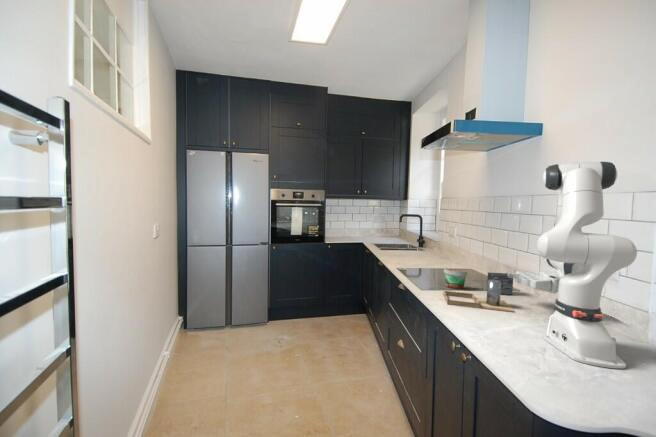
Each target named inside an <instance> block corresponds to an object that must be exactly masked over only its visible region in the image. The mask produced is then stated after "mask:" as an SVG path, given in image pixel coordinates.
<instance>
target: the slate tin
mask: <svg viewBox="0 0 656 437" xmlns="http://www.w3.org/2000/svg"><path fill="white" fill-rule="evenodd" d="M500 294H501V282H500V281H497V280H488V285H487V284H486V298H485V299H486V304H488V305H491V306H500V300H501V295H500Z"/></svg>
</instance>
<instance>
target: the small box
mask: <svg viewBox="0 0 656 437" xmlns="http://www.w3.org/2000/svg"><path fill="white" fill-rule="evenodd" d="M508 274H509V273H507V272H504V273H503V272H487V279H486V280H487V281H486V282H487V283H486V286H487V285H488V280H497V281H500V282H501V294H500V296H513V287H514V278H509V277H508Z"/></svg>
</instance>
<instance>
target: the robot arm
mask: <svg viewBox="0 0 656 437" xmlns="http://www.w3.org/2000/svg"><path fill="white" fill-rule="evenodd" d="M617 179H618V170H617V168H616V165H615V164H614V163H613V162H610V161H598V162H597V161H596V162H595V161H594V162H593V161H591V162H589V161H586V162H585V161H584V162H582V161H581V162H578V161H577V162H575V161H574V162H568V163H561V164H558V163H556V164H551V165H548V166H547V167H546V168H545V170H544V172H543V174H542V182H543V185H544V186H545V188H546V189H547V190H551V191H558V195H557V200H556V217H555V220H554V221H555V222H554V224H553V225H554V226H553V227H552V228H551V229H549V230H548V231H545V232H544V233H542V234H540V236H539V237H538V239H537V241H536V249H537V253H538V254H539V255H540V256H541V257H542V258H543V259H546V263H547V264H548V266H549V267H551V268H552V269H555V270H556V271H554V272H553V271H544V270H543V271H540V272H539V273H537V274H536V273H534V272H530V271H529V272H528V271H522V270H521V271H520V270H517V271H515V273H508V277H509V278H513V279H515V282H516V284H521V285H522V284H523V285H525V286H526V285H527V286H528V287H530V288H532V289H533V290H537V291H542V292H548V293H551V294H557V298H556V299H555V301H554V312H553V313H552V314H551V315H550V316H549V320H548V323H547V324H548V325H547V331H546V333H543V334H542V337H541V338H542V339H544V340H545V341H546V342H548V343H549V344H550V345H552V346H553V347H555V348H557V349H558V350H559V351H560V352H562V354H564V355H566V356H567V357H569V358H570V359H572V360H574V361H576V362H579V363H583V364H587V365H590V366H595V367H601V368H608V369H609V368H611V369H626V368H627V364H626V362H624V361H623V360H622V358H620V356H618V354H617V349H616V348H617V347H616V345H617V344H618V343H617V339H616V337H614V336H611V334H610V333H609V331H608V329H607V328H606V326H605V324H604V323H603V319H604V318H603V317H604V316H605V315H604V314H603V312H602V308H601V306H600V305H601V304H600V303H601V299H602V293H603V288H604V287H605V285H606V284H605V283H606V282H607V281H608V279H609V278H611V277H612V275H613V274H615V273H617V272H618V271H620V270H622V269H625V268H627V267H629V266H631V265H632V264H633V263H634V262H635V260H636V259H637V256H638V250H637V247H636V245H635V244H634V242H633V241H632V240H631V239H629V238H627V237H623V236H619V235H614V234H605V233H592V232H583V231H582V228H583V227H585V226H590V225H592V224H595V223H597V222H599V221H600V220H601V219H602V218H603V216H604V213H605V211H604V192H603V190H605V189H609V188H610V187H612V186H613V185H615V182H616V180H617Z"/></svg>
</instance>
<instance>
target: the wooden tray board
mask: <svg viewBox="0 0 656 437" xmlns="http://www.w3.org/2000/svg"><path fill="white" fill-rule="evenodd" d="M442 296H443V297H444V300H445V303H446V305H447V306H448V305H449V306H457V307H466V308H474V309H481V310H491V311H498V312H499V311H500V312H505V313H506V312H507V313H514V312H515V313H516V311H515V310H514V309H513V308H512V307H511V306H510V305H509V304H508V303H507V302H506V301H505V300H501V299H500V306H491V305H488V304H486V298H483V297H476V296H475V294H474V293H468V292H458V291H449V290H443V292H442ZM448 297H457V298H465V299H472V301H473V302H472V301H471V302H470V301H463V300H462V301H461V300H455V299H449V298H448Z"/></svg>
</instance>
